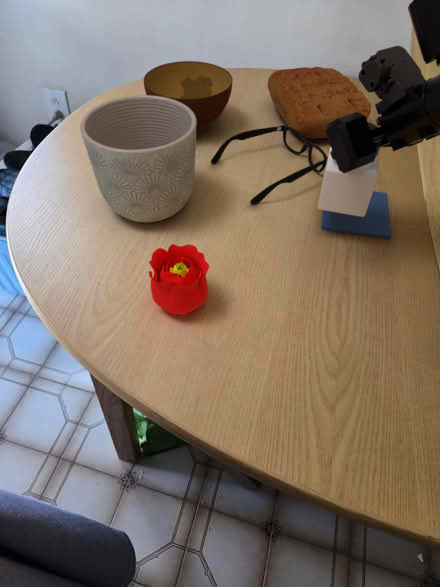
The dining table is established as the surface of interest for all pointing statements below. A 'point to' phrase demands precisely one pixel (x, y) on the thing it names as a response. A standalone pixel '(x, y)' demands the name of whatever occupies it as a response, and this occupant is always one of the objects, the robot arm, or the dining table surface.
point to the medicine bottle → (348, 186)
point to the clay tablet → (315, 98)
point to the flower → (179, 278)
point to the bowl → (192, 87)
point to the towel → (362, 219)
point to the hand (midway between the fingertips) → (348, 149)
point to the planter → (142, 154)
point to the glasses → (284, 129)
